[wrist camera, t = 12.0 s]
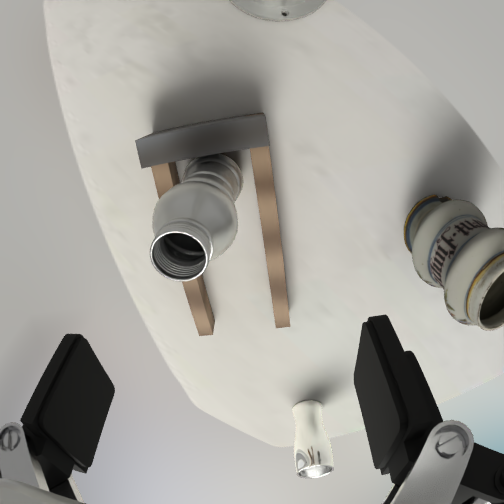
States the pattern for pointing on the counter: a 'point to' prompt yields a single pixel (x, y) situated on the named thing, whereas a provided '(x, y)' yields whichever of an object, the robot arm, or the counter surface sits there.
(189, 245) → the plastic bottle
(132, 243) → the counter surface
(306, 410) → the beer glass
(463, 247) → the apothecary jar
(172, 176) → the guide track
